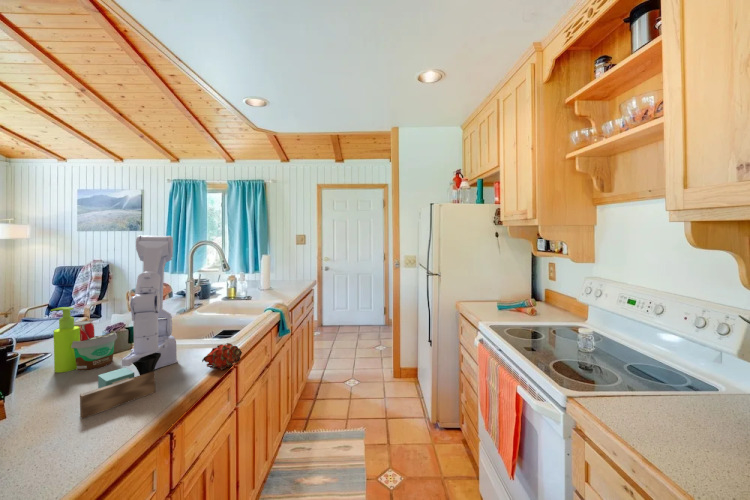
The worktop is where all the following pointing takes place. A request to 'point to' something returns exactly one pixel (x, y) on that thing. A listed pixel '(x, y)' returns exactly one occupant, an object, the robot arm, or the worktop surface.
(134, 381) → the walnut block
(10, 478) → the worktop surface
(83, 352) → the food container
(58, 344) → the soap dispenser
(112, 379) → the teal cube
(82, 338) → the soda can
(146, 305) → the robot arm
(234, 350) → the dragon fruit
